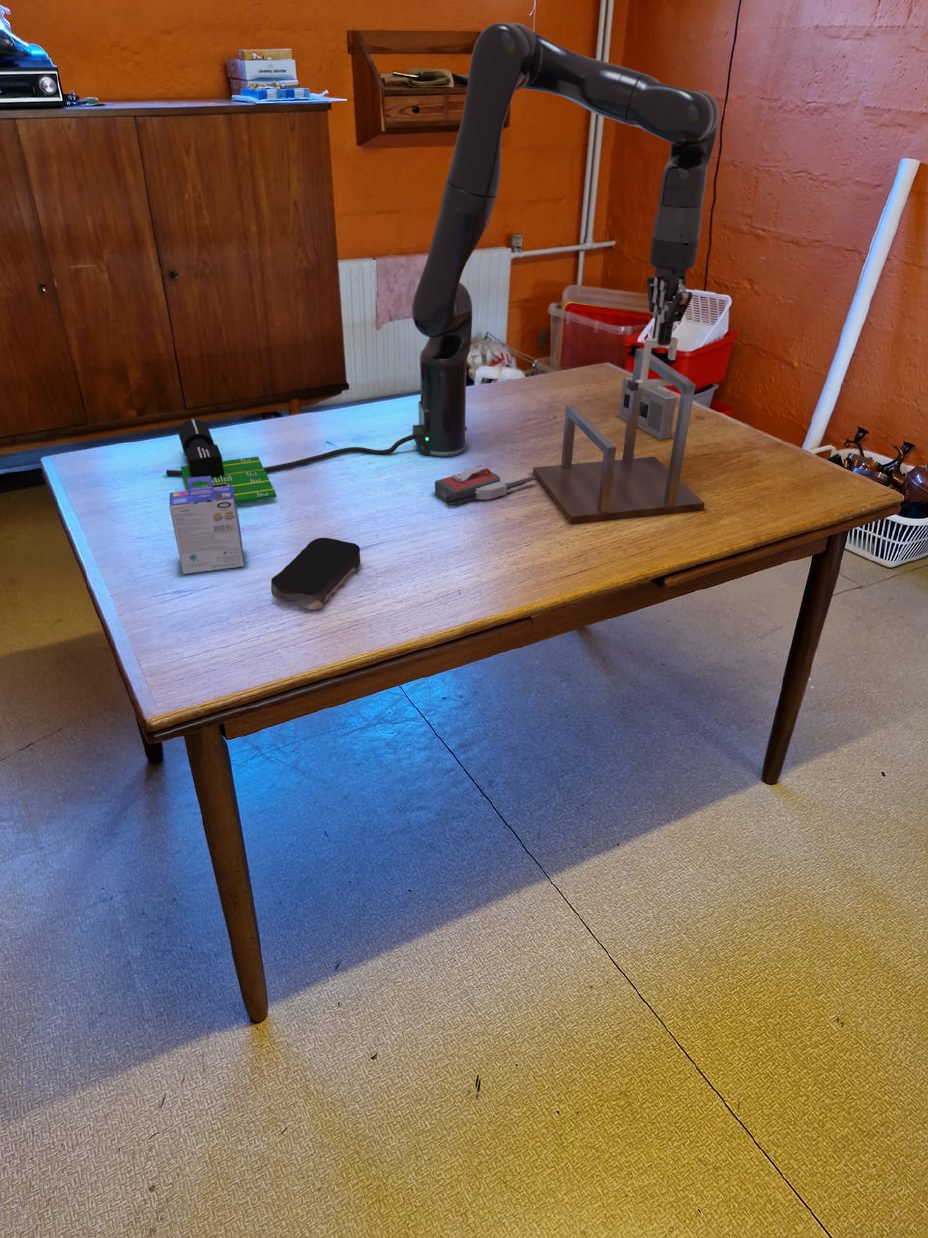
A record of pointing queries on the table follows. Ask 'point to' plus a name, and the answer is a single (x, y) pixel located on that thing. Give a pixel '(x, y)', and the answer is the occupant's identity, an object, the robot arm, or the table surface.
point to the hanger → (649, 344)
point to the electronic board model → (221, 465)
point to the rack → (622, 465)
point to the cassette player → (651, 409)
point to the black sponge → (316, 572)
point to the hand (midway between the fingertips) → (661, 342)
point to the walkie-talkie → (474, 486)
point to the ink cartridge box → (206, 527)
